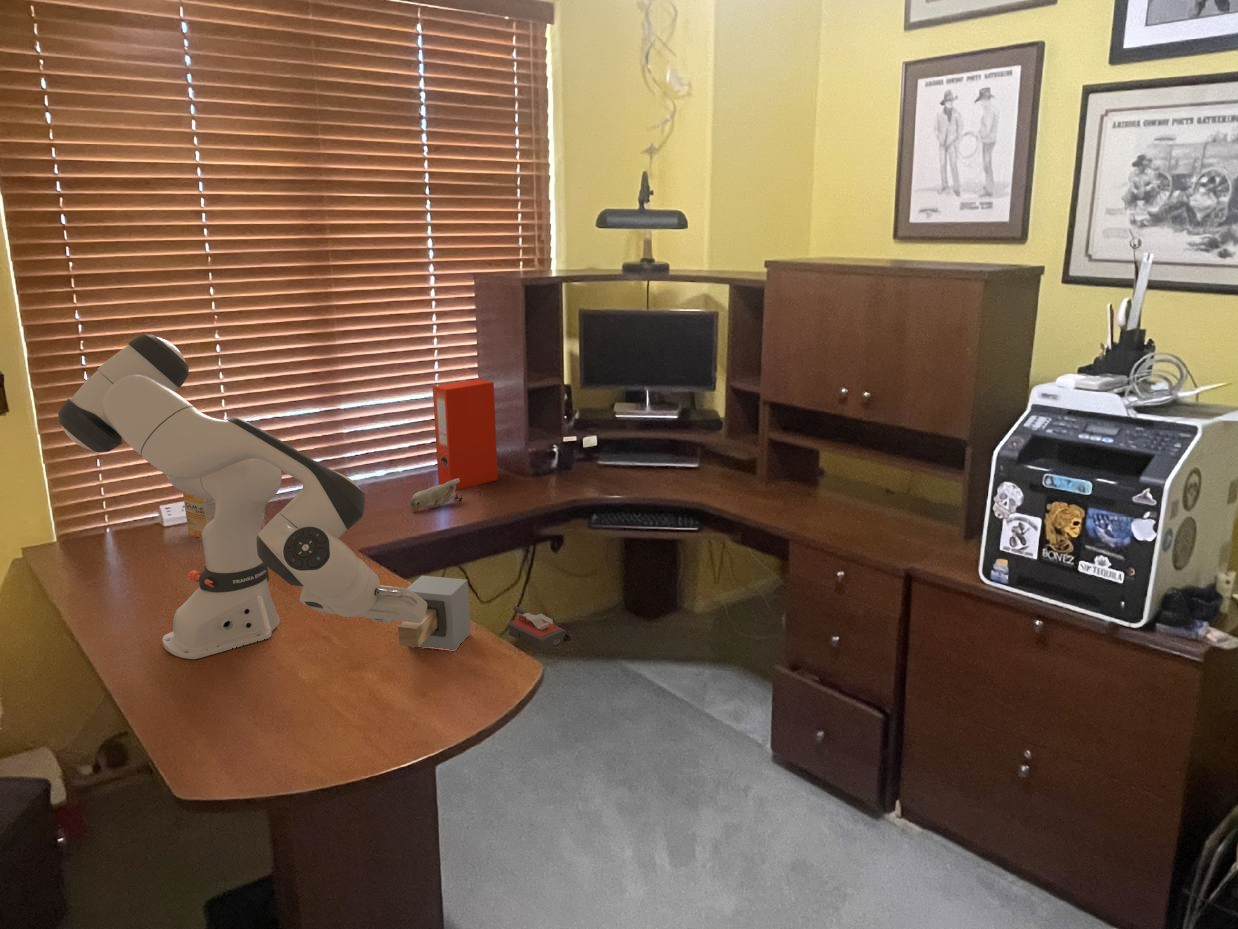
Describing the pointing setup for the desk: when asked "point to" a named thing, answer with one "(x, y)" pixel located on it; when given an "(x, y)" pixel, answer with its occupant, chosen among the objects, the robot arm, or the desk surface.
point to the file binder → (465, 432)
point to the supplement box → (198, 513)
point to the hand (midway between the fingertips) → (384, 618)
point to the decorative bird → (435, 496)
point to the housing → (445, 609)
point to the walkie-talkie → (537, 630)
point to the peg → (418, 629)
